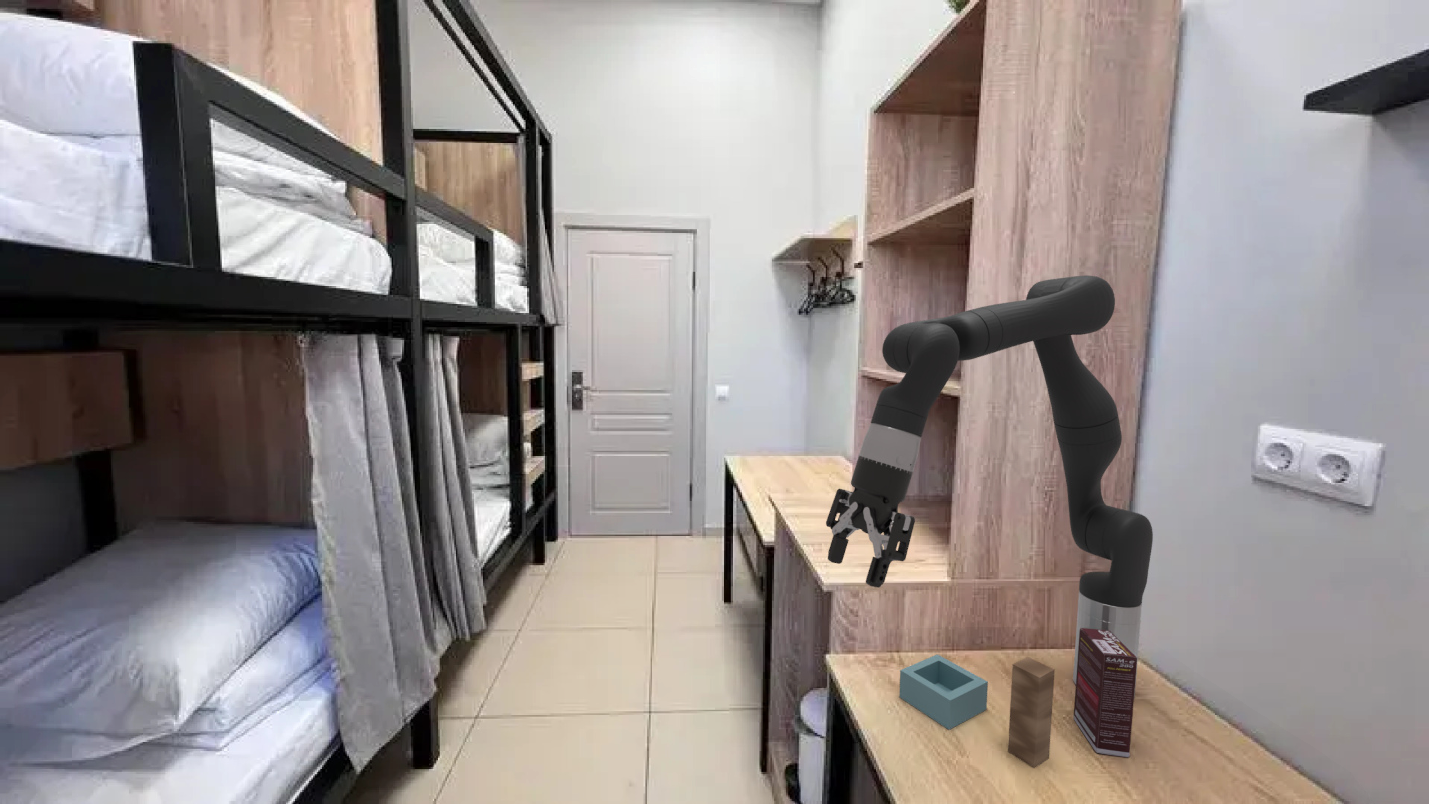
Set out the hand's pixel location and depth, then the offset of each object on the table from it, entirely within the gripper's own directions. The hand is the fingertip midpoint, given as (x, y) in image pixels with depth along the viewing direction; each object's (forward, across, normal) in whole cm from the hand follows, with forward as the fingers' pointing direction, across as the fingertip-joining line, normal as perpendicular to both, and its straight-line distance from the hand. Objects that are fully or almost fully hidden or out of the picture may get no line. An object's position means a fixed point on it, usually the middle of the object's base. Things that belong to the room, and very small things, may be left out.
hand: (852, 573), depth 78 cm
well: (+21, +6, -33) cm, 40 cm away
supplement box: (+16, -10, -49) cm, 52 cm away
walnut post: (+20, -8, -36) cm, 42 cm away
